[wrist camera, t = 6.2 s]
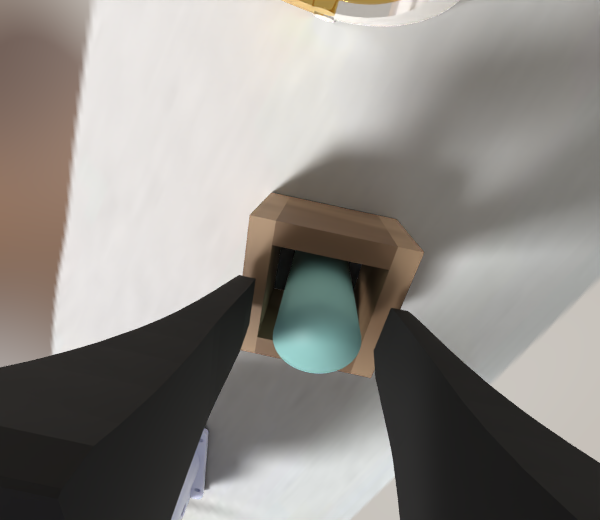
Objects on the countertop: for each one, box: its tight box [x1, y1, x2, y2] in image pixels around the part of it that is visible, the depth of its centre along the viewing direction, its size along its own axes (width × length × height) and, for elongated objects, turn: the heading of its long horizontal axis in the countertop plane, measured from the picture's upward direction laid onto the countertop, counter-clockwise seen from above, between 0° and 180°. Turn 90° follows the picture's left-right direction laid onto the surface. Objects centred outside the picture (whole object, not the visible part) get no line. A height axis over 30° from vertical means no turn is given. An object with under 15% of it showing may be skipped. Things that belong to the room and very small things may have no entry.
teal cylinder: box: [273, 250, 361, 374], centre depth 11 cm, size 3×3×6 cm
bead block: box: [241, 193, 424, 378], centre depth 12 cm, size 6×6×4 cm
